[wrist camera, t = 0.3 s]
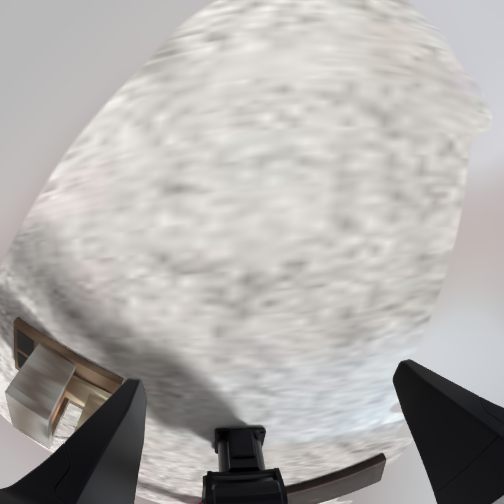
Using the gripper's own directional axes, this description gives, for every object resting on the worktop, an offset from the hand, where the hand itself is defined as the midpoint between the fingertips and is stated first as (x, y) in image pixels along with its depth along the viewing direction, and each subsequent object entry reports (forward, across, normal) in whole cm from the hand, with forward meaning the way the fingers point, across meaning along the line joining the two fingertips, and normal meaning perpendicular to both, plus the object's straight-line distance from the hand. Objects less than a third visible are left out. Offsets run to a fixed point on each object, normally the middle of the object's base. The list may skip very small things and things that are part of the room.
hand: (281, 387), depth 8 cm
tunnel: (+15, +22, +16) cm, 31 cm away
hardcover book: (+14, -21, +55) cm, 60 cm away
